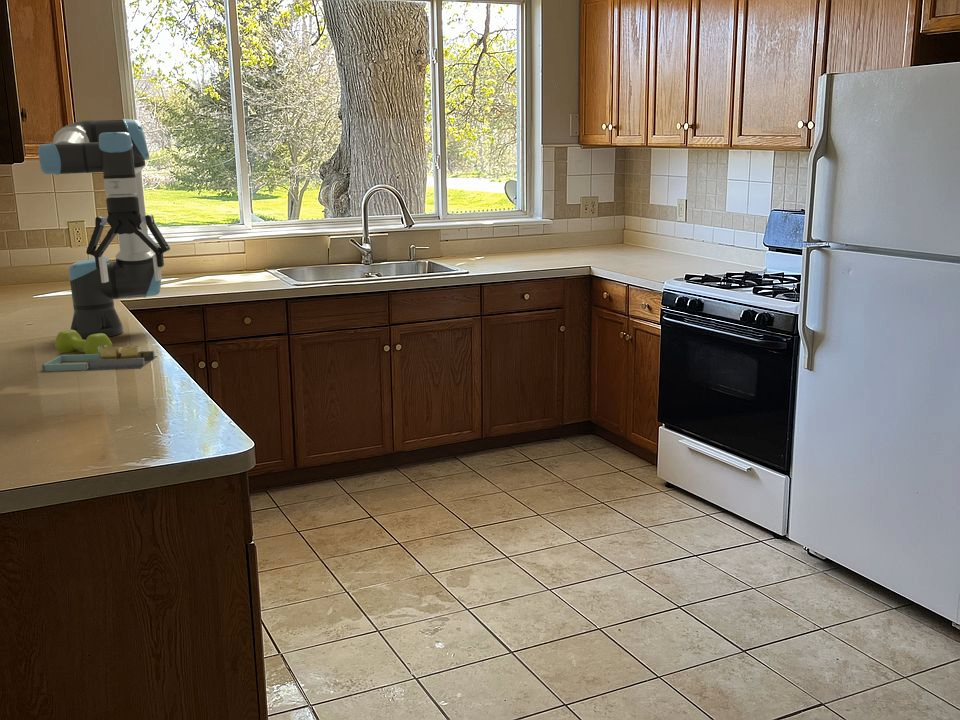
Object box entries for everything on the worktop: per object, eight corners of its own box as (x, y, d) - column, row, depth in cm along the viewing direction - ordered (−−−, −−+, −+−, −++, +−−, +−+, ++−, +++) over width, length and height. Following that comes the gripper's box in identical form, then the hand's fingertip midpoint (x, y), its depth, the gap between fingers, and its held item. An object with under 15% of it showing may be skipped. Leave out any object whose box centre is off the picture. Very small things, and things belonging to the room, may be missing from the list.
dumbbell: (53, 358, 256) (50, 332, 254) (79, 352, 262) (75, 327, 261) (91, 363, 247) (87, 337, 246) (116, 357, 254) (113, 331, 252)
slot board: (105, 363, 246) (104, 350, 245) (158, 361, 246) (157, 348, 246) (85, 376, 233) (83, 362, 232) (141, 374, 233) (139, 360, 232)
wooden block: (107, 362, 241) (105, 347, 240) (123, 361, 241) (121, 346, 240) (101, 365, 237) (99, 350, 236) (117, 365, 237) (115, 349, 236)
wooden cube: (125, 361, 241) (123, 346, 240) (141, 360, 242) (139, 345, 241) (122, 365, 237) (120, 349, 236) (138, 364, 238) (137, 348, 237)
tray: (62, 366, 245) (60, 355, 244) (103, 364, 245) (102, 353, 244) (43, 376, 234) (41, 365, 233) (87, 375, 234) (85, 363, 233)
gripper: (65, 198, 226) (76, 285, 230) (166, 194, 225) (176, 281, 230) (78, 197, 233) (89, 281, 238) (176, 193, 233) (185, 277, 237)
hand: (132, 281), depth 234 cm, fingers open, 13 cm apart
